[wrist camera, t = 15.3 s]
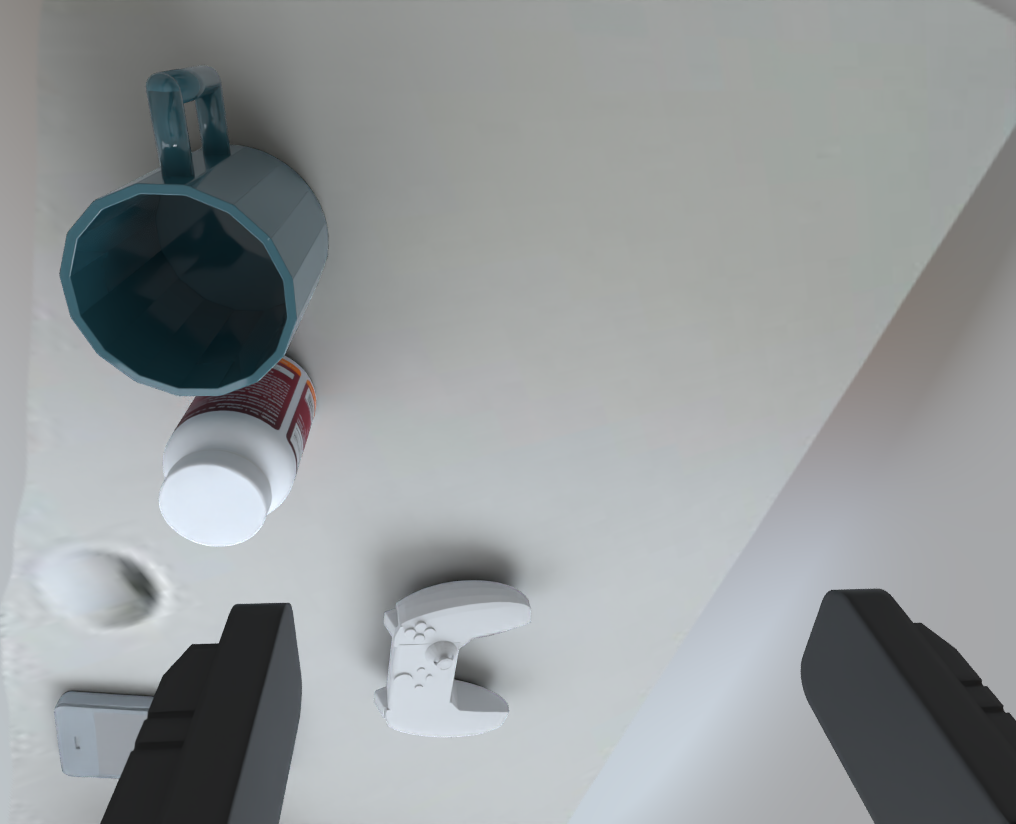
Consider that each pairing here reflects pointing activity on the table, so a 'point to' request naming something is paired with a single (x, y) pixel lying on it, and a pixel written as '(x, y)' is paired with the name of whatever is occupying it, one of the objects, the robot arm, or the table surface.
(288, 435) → the pill bottle
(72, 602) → the table surface
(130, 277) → the teal coffee mug
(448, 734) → the game controller
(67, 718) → the phone
